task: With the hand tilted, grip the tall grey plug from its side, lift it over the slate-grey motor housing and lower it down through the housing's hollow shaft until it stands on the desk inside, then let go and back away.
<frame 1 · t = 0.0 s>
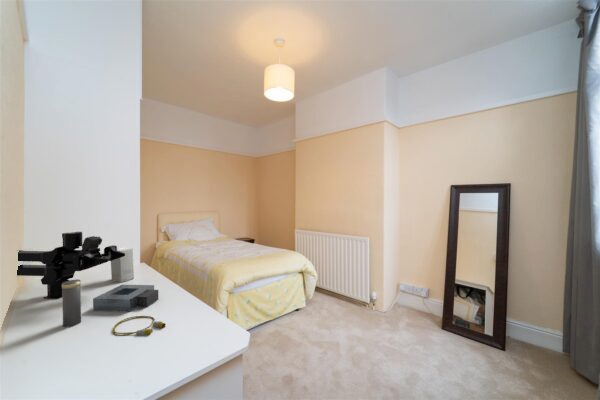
hand: (116, 257, 102), 17 cm above the table, tool horizontal, fingers open, 9 cm apart
skincare box: (122, 280, 123), on the table
motor housing: (125, 302, 97), on the table
extension cord: (137, 329, 79), on the table
plug: (72, 323, 81), on the table
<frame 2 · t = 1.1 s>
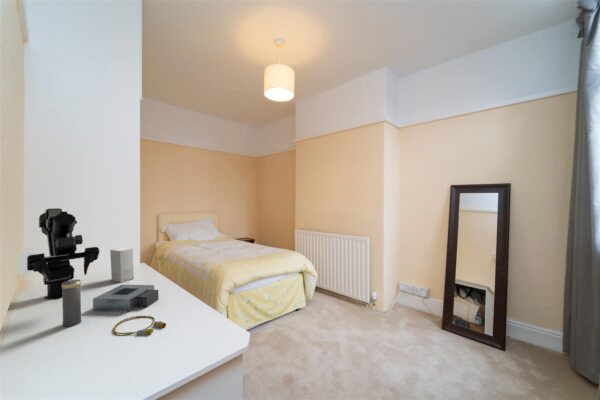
hand: (68, 277, 86), 14 cm above the table, tool tilted 45°, fingers open, 9 cm apart
nothing on the table moved.
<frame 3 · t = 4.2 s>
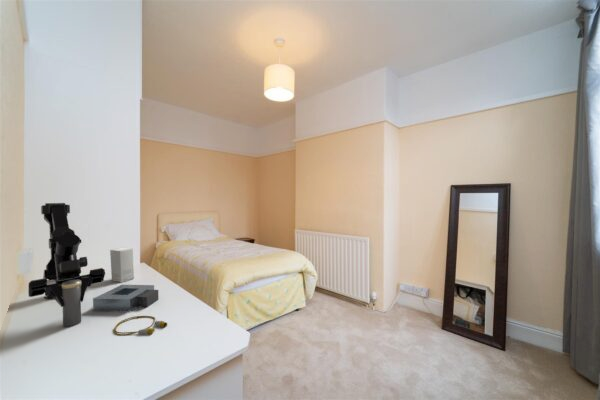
hand: (72, 303, 80), 7 cm above the table, tool tilted 45°, fingers closed on plug, 4 cm apart
plug: (72, 323, 81), on the table, touching gripper
everything else where it was.
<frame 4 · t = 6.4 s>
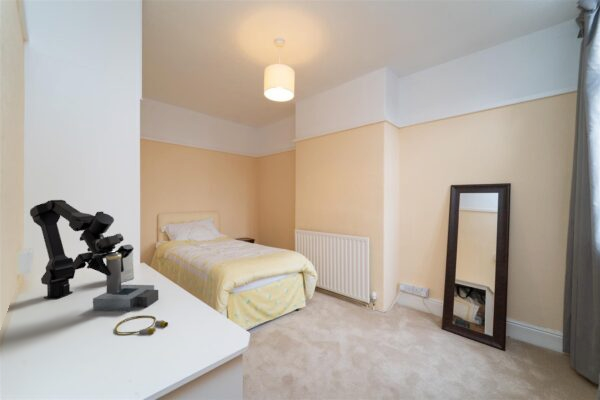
hand: (116, 273, 92), 13 cm above the table, tool tilted 45°, fingers closed on plug, 4 cm apart
plug: (114, 291, 92), point 6 cm above the table, touching gripper
everything else where it was.
when the fingers open (8 cm above the table, at t = 8.9 s): plug stays where it is, resting in motor housing.
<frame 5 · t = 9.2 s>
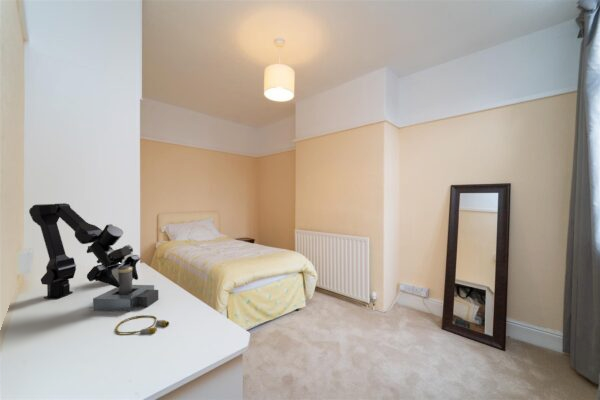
hand: (128, 282, 97), 8 cm above the table, tool tilted 45°, fingers open, 8 cm apart
plug: (125, 302, 97), resting in motor housing
everything else where it was.
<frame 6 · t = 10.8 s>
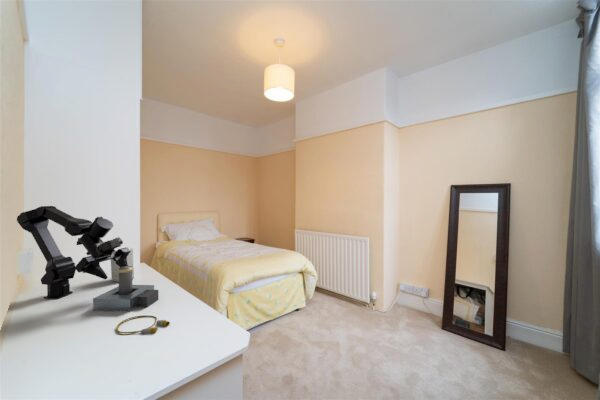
hand: (117, 274, 97), 11 cm above the table, tool tilted 45°, fingers open, 9 cm apart
nothing on the table moved.
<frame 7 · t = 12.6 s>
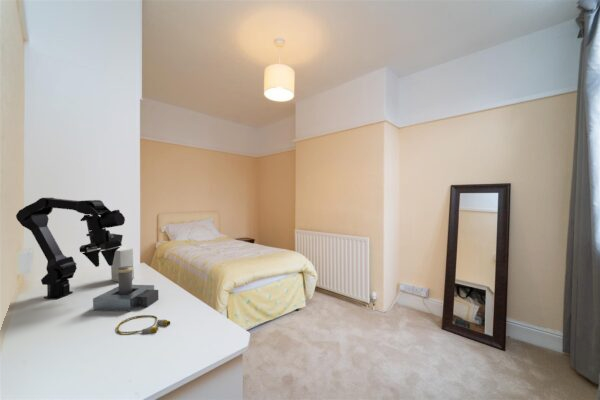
hand: (104, 266, 103), 13 cm above the table, tool pointing down, fingers open, 9 cm apart
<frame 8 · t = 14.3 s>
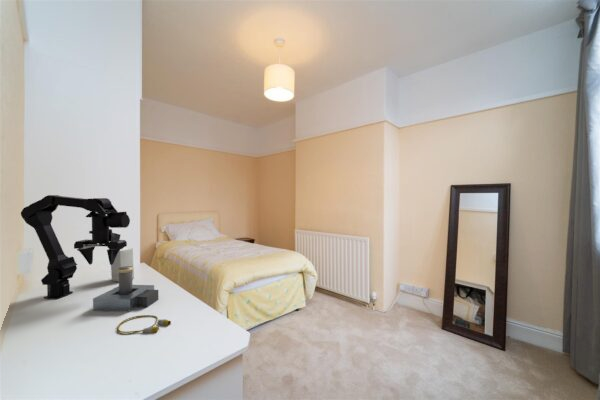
hand: (101, 264, 104), 13 cm above the table, tool pointing down, fingers open, 9 cm apart
at the end: plug 0.0 cm off-centre on the motor housing, point 0.0 cm above the motor housing's base; plug tilted 0°; the gripper is holding nothing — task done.
